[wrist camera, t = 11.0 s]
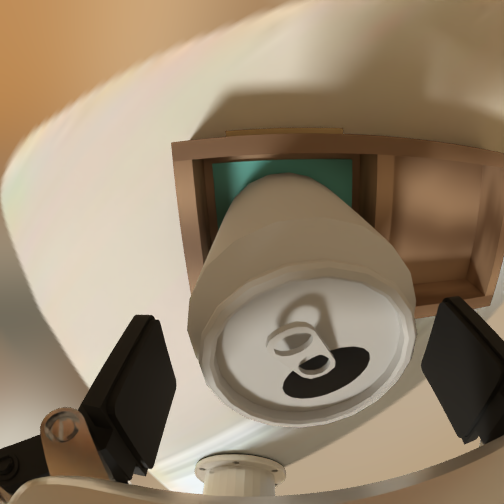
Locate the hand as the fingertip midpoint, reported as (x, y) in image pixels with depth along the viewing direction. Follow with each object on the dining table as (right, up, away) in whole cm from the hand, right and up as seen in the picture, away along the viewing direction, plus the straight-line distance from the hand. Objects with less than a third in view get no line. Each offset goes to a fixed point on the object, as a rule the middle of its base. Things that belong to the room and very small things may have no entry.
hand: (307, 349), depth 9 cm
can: (0, +4, +10) cm, 11 cm away
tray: (+6, +5, +10) cm, 13 cm away
